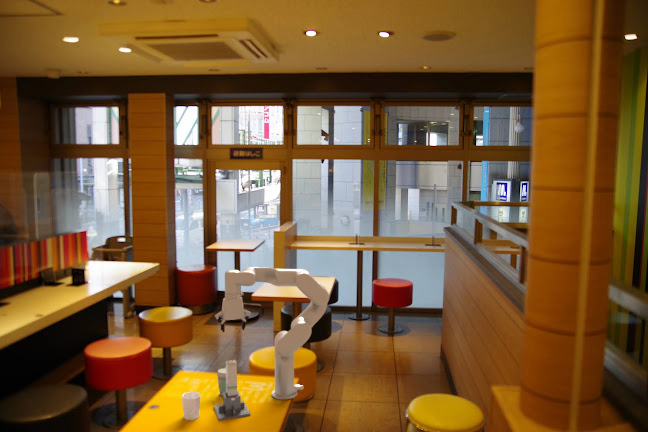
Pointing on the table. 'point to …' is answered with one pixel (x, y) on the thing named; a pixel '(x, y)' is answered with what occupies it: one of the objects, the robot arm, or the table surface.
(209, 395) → the table surface
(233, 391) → the post
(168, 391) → the table surface
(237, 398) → the stand base
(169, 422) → the table surface
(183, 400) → the white cup
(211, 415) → the table surface
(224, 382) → the coffee cup
